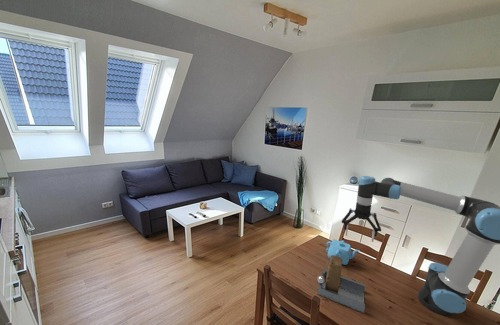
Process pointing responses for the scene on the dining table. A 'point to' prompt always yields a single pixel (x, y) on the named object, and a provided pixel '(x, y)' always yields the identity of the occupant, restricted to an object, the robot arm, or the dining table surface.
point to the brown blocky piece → (334, 273)
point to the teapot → (340, 250)
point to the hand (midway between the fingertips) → (359, 237)
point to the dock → (344, 292)
